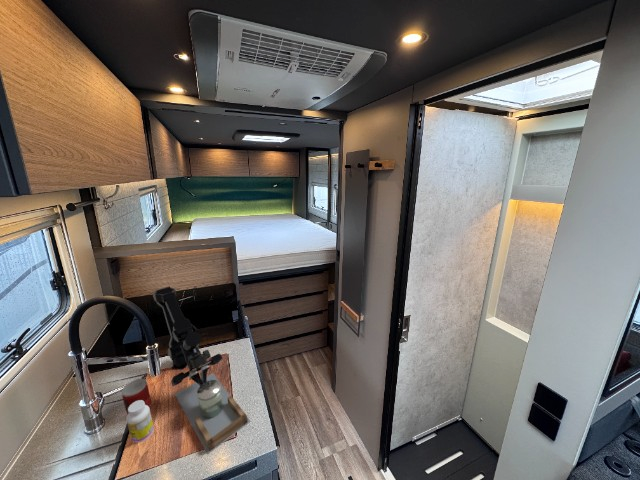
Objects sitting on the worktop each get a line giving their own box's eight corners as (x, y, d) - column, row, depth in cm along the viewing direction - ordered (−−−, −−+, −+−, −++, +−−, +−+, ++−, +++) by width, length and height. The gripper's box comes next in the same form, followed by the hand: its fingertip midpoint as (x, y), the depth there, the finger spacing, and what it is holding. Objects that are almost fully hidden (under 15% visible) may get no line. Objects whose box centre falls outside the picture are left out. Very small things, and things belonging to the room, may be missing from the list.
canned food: (156, 401, 103) (151, 378, 100) (140, 419, 95) (135, 396, 92) (138, 399, 103) (133, 377, 100) (122, 417, 96) (115, 394, 93)
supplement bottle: (129, 434, 89) (122, 406, 86) (151, 421, 94) (144, 394, 91) (134, 448, 85) (126, 418, 82) (156, 433, 90) (150, 405, 86)
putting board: (174, 395, 105) (174, 394, 105) (212, 373, 116) (212, 373, 116) (207, 455, 83) (207, 454, 82) (250, 422, 94) (250, 421, 94)
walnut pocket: (195, 425, 92) (194, 419, 91) (231, 401, 102) (230, 395, 101) (209, 451, 84) (208, 444, 83) (247, 422, 93) (247, 415, 92)
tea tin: (196, 419, 94) (193, 398, 92) (206, 400, 102) (203, 380, 100) (218, 419, 94) (215, 397, 92) (226, 400, 102) (223, 379, 100)
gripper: (168, 359, 93) (183, 401, 88) (218, 336, 105) (233, 372, 101) (165, 366, 100) (179, 405, 95) (212, 344, 113) (226, 378, 108)
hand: (205, 389), depth 100 cm, fingers closed, pressing on tea tin
